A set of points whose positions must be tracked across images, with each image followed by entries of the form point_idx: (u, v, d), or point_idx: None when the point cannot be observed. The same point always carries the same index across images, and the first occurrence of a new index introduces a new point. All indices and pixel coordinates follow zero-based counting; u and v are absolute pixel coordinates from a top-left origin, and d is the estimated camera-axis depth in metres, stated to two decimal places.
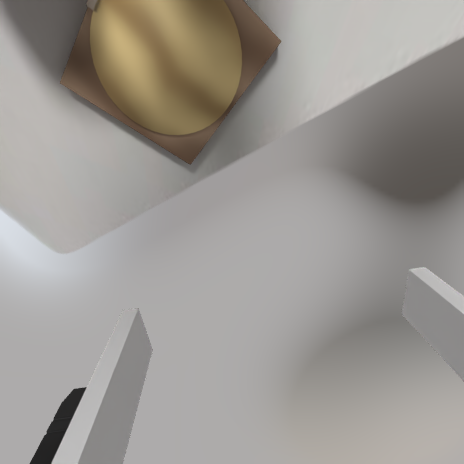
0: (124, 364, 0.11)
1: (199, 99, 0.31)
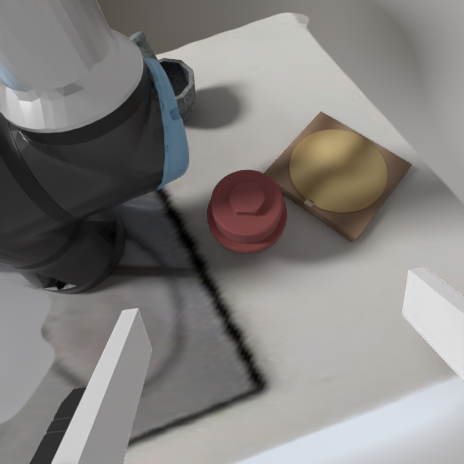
0: (124, 364, 0.11)
1: (358, 153, 0.44)
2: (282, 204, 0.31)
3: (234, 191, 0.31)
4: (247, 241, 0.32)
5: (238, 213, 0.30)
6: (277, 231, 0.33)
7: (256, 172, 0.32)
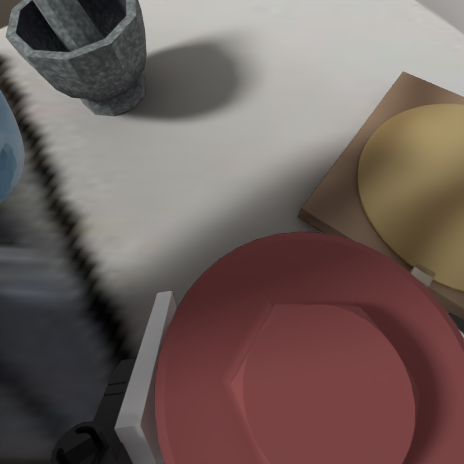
0: None
1: None
2: None
3: (259, 359, 0.06)
4: None
5: None
6: None
7: (335, 242, 0.08)
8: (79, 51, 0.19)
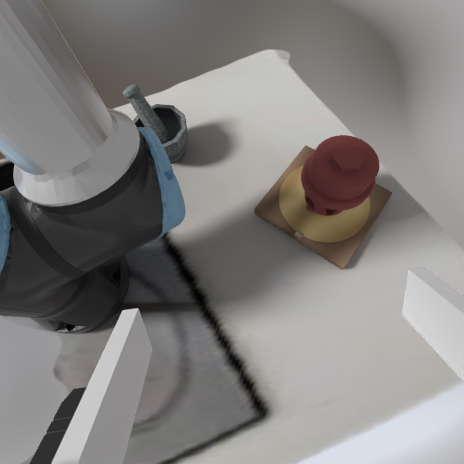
0: (124, 364, 0.11)
1: None
2: (378, 161, 0.35)
3: (337, 152, 0.35)
4: (347, 196, 0.36)
5: (342, 170, 0.34)
6: (369, 188, 0.37)
7: (349, 136, 0.37)
8: (164, 145, 0.46)
